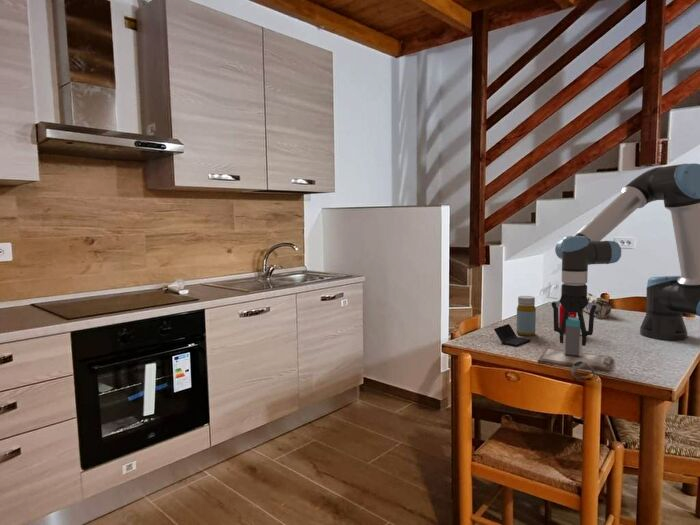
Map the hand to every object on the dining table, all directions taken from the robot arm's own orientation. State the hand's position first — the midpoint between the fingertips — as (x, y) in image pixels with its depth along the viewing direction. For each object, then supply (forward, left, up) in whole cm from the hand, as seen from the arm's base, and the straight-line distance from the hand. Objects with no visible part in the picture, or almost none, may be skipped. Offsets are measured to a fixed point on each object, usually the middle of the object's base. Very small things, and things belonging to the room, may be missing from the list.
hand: (572, 353), depth 152 cm
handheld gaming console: (+22, -12, -2) cm, 25 cm away
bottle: (+20, -26, -2) cm, 32 cm away
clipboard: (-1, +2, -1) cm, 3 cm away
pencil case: (+1, -80, -2) cm, 80 cm away
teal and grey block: (0, 0, 0) cm, 1 cm away
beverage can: (+6, -35, -2) cm, 35 cm away
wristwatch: (-5, +19, -2) cm, 20 cm away
